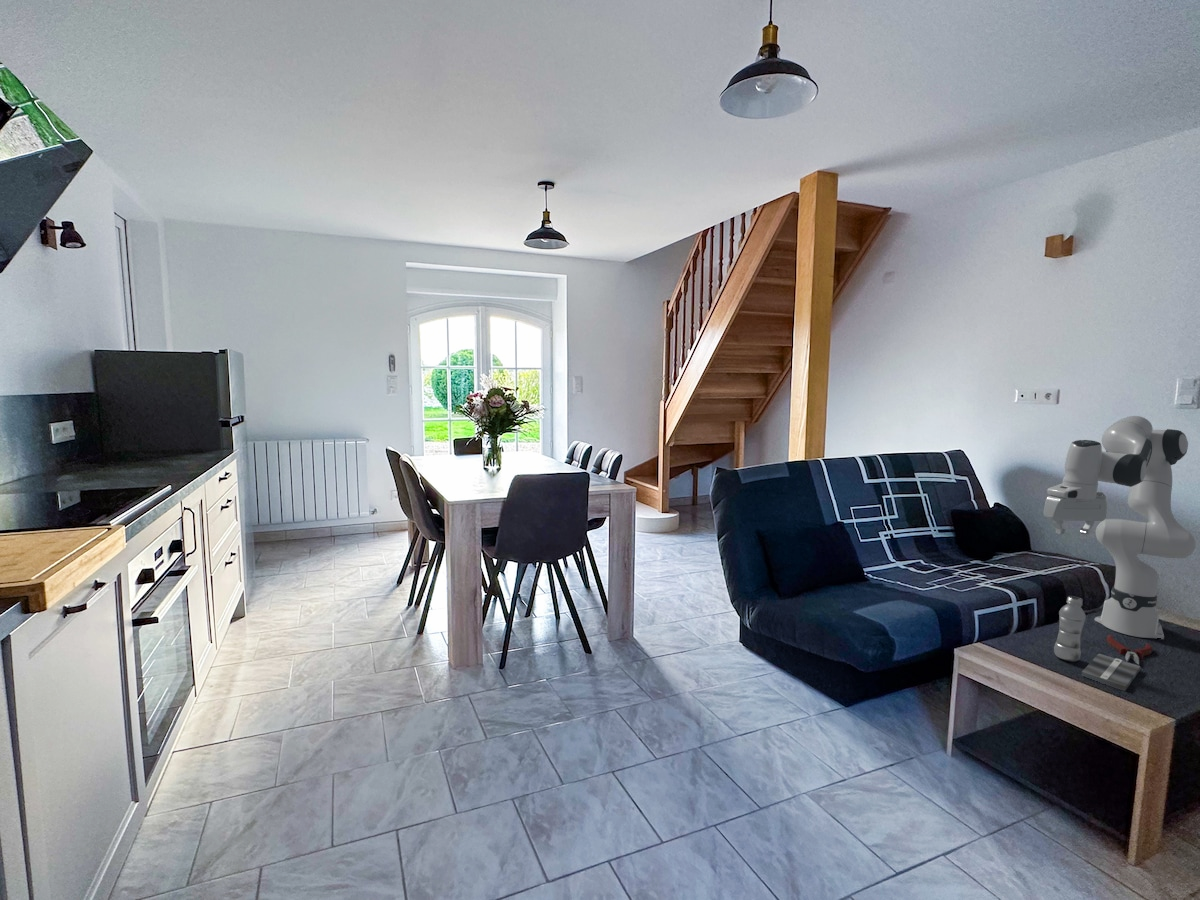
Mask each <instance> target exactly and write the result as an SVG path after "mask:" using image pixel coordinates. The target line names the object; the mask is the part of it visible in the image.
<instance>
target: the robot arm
mask: <svg viewBox="0 0 1200 900" xmlns="http://www.w3.org/2000/svg"><path fill="white" fill-rule="evenodd" d="M1102 446H1103V447H1102ZM1188 448H1189V441H1188V438H1187V436H1186V434H1185V433H1184V432H1182V431H1181V430H1177V429H1169V428H1167V429H1154V428H1153V425H1152V423H1151V422H1150V421H1149V420H1148V419H1147V418H1145V417H1142V416H1139V415H1130V416H1127V417H1124V418H1121V419H1119V420H1117V421H1116V422H1114V423H1113V424H1111V425H1110V426H1108V427H1107V428H1106V429H1105V431H1104V432H1103V434H1102V437H1101V442H1099V441H1096V440H1089V439H1077V440H1074V441H1072V442H1071V443H1070V445H1069V448H1068V450H1067V453H1066V458H1065V461H1064V462H1065V463H1064V470H1065V471H1064V473H1065V474H1064V477H1062V483H1059V484H1056V485H1054V486H1051V487H1048V488H1047V489H1046V493H1047V495H1048V496H1047V497H1046V499H1045V503H1044V506H1043V516H1044V518H1045V519H1048V520H1050V521H1053V525H1054V527H1055V534H1058V535H1064V534H1065V532H1066V529H1065V528H1064V527H1063V524H1064V522H1065V521H1070V522H1071V521H1073V522H1077V521H1079V522H1084V525H1083V527H1080V531H1079V533H1080V535H1081V534H1082V535H1090V530H1091V529H1092V528H1093V526H1094V525H1095V522H1099V524H1098V525H1097V526H1096V528H1095V537H1096V539H1097V542H1098V543H1099V544H1100V545H1101V546H1103V547H1104V548H1105V549H1106V550H1107V551H1108V552H1109V553H1110V556H1111V557H1112V558H1113V560H1114V564H1115V580H1114V585H1113V586H1112V589H1111V591H1110V593H1111V594H1110V596H1111V597H1110V598H1108V599H1106V600H1104V602H1103V606H1102V607H1103V608H1102V612H1101V615H1099V616H1095V618H1094V622H1097V623H1099V624H1101V625H1102V626H1104V627H1105V628H1108V629H1109V630H1111V631H1114V632H1117V633H1120V634H1124V635H1126V636H1127V635H1128V636H1131V637H1136V638H1145V639H1157V638H1161V639H1160V640H1165V635H1164V631H1163V627H1162V625H1161V623H1160V622H1159V620H1160V613H1159V612H1158V610H1157V609H1156V607H1157V606H1156V605H1157V603H1158V596H1157V590H1158V584H1159V580H1160V577H1159V574H1158V572H1157V570H1156V569H1155V568H1154V567H1152V566H1151V565H1150V564H1149V565H1148V564H1147V563H1145V562H1144V561H1142V560H1140V559H1139V557H1138V555H1146V556H1151V557H1152V556H1153V557H1159V558H1164V559H1186V558H1188V557H1190V556H1191V555H1192V554H1193V553H1194V552H1195V549H1196V545H1197V544H1196V543H1197V542H1196V540H1195V537H1194V535H1193V534H1192V533H1191V532H1190V531H1189V530H1188V529H1186V528H1184V527H1183V526H1182V525H1181V524H1180V522H1178V521H1177V520H1176V518H1175V516H1174V514H1173V511H1172V506H1171V503H1172V500H1171V499H1172V492H1173V491H1172V490H1173V472H1172V471H1173V469H1172V466H1174V465H1175V464H1177V462H1178V461H1180V460H1182V459H1183V458H1184V456H1185V455H1186V454H1187V452H1188ZM1102 449H1104V450H1105V451H1102ZM1099 482H1102V483H1103V482H1104V483H1111V484H1117V485H1119V486H1120V485H1121V486H1126V487H1128V488H1129V489H1128V496H1127V505H1128V507H1129V509H1131V510H1132V511H1134V512H1135V513H1137V514H1138V515H1140V516H1142V517H1143V518H1145V519H1146V520H1147V522H1145V521H1137V520H1130V519H1125V518H1107V513H1108V512H1107V510H1108V508H1107V505H1108V504H1107V500H1106V499H1107V497H1106V495H1105V494H1104V493H1103V492H1102V491H1098V487H1099Z"/></svg>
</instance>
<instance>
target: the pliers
mask: <svg viewBox="0 0 1200 900" xmlns="http://www.w3.org/2000/svg"><path fill="white" fill-rule="evenodd" d="M1106 642H1107V644H1108V645H1109V646H1110V647H1112V648H1114V649H1115V650H1117V651H1118V654H1119V655H1121V656H1122V655H1123V656H1125V657H1124V658H1125V659H1124V660H1125V662H1128V663H1129V661H1130V659H1131V660H1133V662H1134V663H1136V665H1138V666H1140V660H1143V659H1144V657H1145V656H1150V655H1151V654H1152V653H1153V651H1154V650H1153V647H1152V645H1151V644H1150V643H1148V642H1146V643H1145V647H1143V648H1138V649H1133V650H1132V651H1131V649H1130V648H1129V647H1126V646H1125V645H1124V644H1122V643H1120V642H1118V641H1117V640H1116V639H1114V638H1113V634H1109V635H1107V636H1106Z"/></svg>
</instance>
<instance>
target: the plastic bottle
mask: <svg viewBox="0 0 1200 900" xmlns="http://www.w3.org/2000/svg"><path fill="white" fill-rule="evenodd" d="M1083 601H1084V600H1083V598H1081V597H1078V596H1074V595H1068V596H1067V598H1066V601H1065V603H1067V604H1065V605H1063V606H1062V607H1061V608H1060V610H1058V615H1059V618H1058V619H1059V620H1058V621H1059V625H1058V626H1059V628H1058V632H1057V633H1058V634H1057V639H1056V641H1055V642H1054V647H1053V653H1054V655H1055V656H1056V657H1057V658H1059V659H1061V660H1064V661H1067V662H1077V661H1079V660H1080V659H1081V655H1082V654H1081V652H1082V651H1081V636H1082V631H1083V628H1084V625H1085V622H1086V618H1087V616H1086V613H1085V611H1084V610H1083V608H1082V607H1083Z"/></svg>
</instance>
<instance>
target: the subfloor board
mask: <svg viewBox="0 0 1200 900" xmlns="http://www.w3.org/2000/svg"><path fill="white" fill-rule="evenodd" d="M1140 671H1141V666H1140V665H1138V664H1134V663H1131V662H1129V661H1128V662H1126V660H1123V659H1120V658H1117V657H1116V658H1115V657H1113V656H1112V657H1111V656H1108V655H1104V654H1101V653H1098V654H1096V656H1095V657H1094V658H1093V659H1092V660H1091V661H1090V662H1089V663H1088V664H1087V666H1085V668H1083V670H1082V671H1081V675H1082V676H1085V677H1087V678H1090V679H1092V680H1091V681H1093V680H1095V681H1094V682H1096V681H1098V682H1097V683H1099V682H1100V684H1103V685H1105V684H1106V686H1108V687H1112V688H1114V689H1118V690H1120V691H1123V692H1126V691H1127V689H1128V688H1129V687H1130V685H1131V683H1133V681H1134V679H1135V678H1136V676H1138V674H1139V672H1140ZM1081 675H1080V676H1081ZM1087 678H1086V679H1087ZM1090 679H1089V680H1090Z"/></svg>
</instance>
